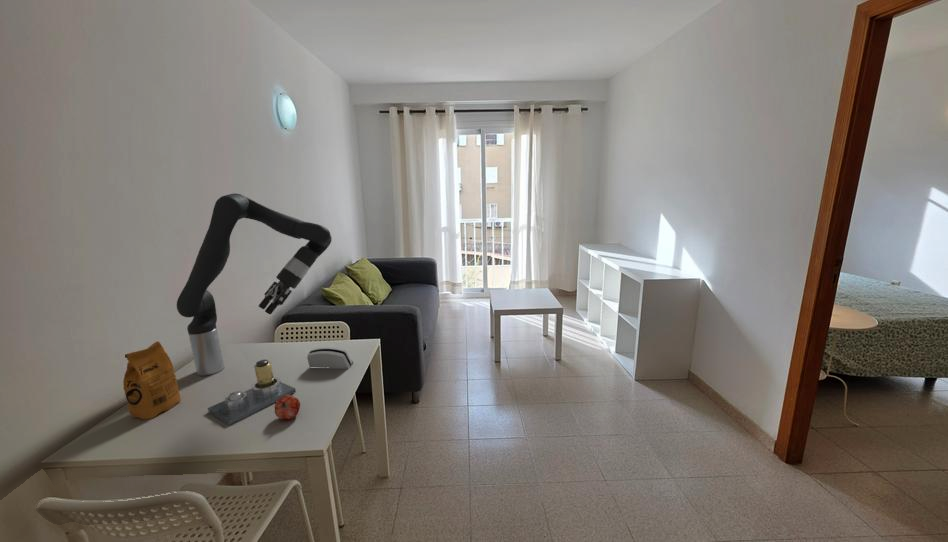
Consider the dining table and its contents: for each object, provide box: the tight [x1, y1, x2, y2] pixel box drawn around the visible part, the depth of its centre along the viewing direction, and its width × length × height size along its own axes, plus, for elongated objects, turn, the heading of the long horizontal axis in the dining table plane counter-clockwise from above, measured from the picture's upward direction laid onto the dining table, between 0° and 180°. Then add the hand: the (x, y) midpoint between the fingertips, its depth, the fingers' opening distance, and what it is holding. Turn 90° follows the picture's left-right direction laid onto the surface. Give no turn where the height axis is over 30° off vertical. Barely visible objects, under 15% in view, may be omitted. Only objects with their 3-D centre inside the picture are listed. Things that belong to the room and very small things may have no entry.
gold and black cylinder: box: [254, 359, 275, 388], centre depth 134 cm, size 5×5×11 cm
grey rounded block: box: [306, 346, 354, 369], centre depth 154 cm, size 17×5×10 cm, turn 85°
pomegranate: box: [274, 394, 301, 420], centre depth 121 cm, size 7×7×10 cm
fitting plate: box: [207, 376, 297, 426], centre depth 131 cm, size 14×22×6 cm, turn 147°
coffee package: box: [122, 341, 181, 420], centre depth 127 cm, size 10×12×22 cm
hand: (264, 310), depth 136 cm, fingers open, 8 cm apart
